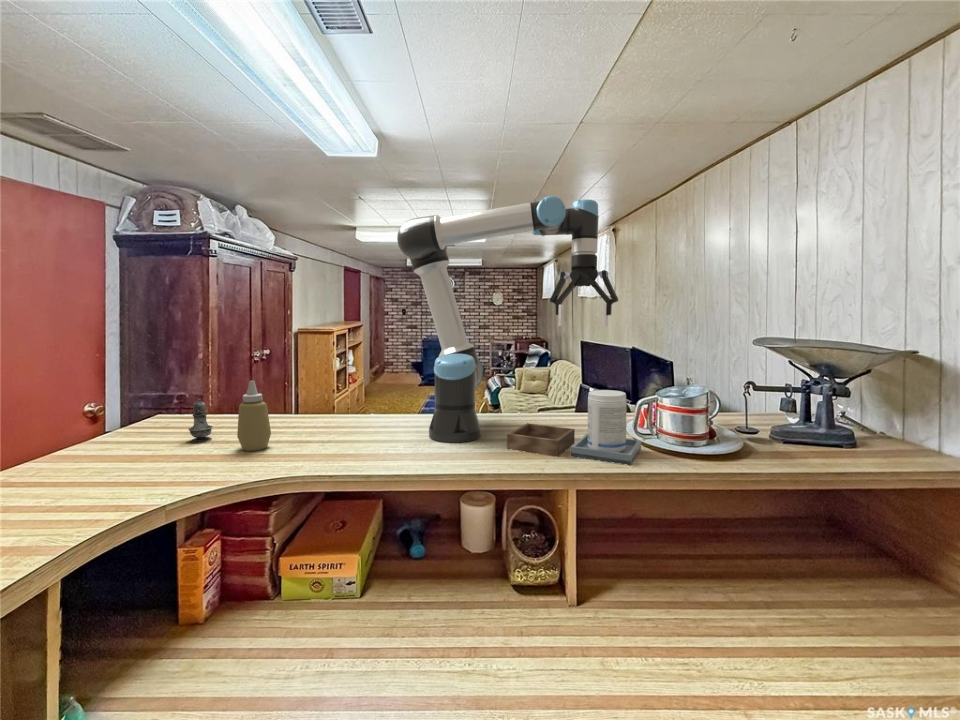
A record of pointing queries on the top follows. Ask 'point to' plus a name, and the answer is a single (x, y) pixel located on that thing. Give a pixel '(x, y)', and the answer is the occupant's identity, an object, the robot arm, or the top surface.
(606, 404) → the supplement tub
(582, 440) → the tray
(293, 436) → the top surface
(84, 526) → the top surface
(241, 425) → the squeeze bottle
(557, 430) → the tray
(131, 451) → the top surface
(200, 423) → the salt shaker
